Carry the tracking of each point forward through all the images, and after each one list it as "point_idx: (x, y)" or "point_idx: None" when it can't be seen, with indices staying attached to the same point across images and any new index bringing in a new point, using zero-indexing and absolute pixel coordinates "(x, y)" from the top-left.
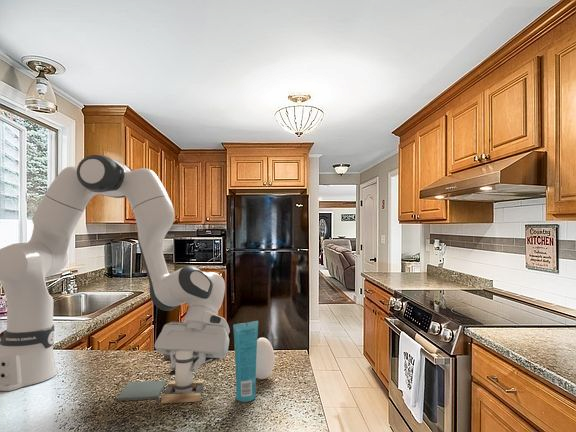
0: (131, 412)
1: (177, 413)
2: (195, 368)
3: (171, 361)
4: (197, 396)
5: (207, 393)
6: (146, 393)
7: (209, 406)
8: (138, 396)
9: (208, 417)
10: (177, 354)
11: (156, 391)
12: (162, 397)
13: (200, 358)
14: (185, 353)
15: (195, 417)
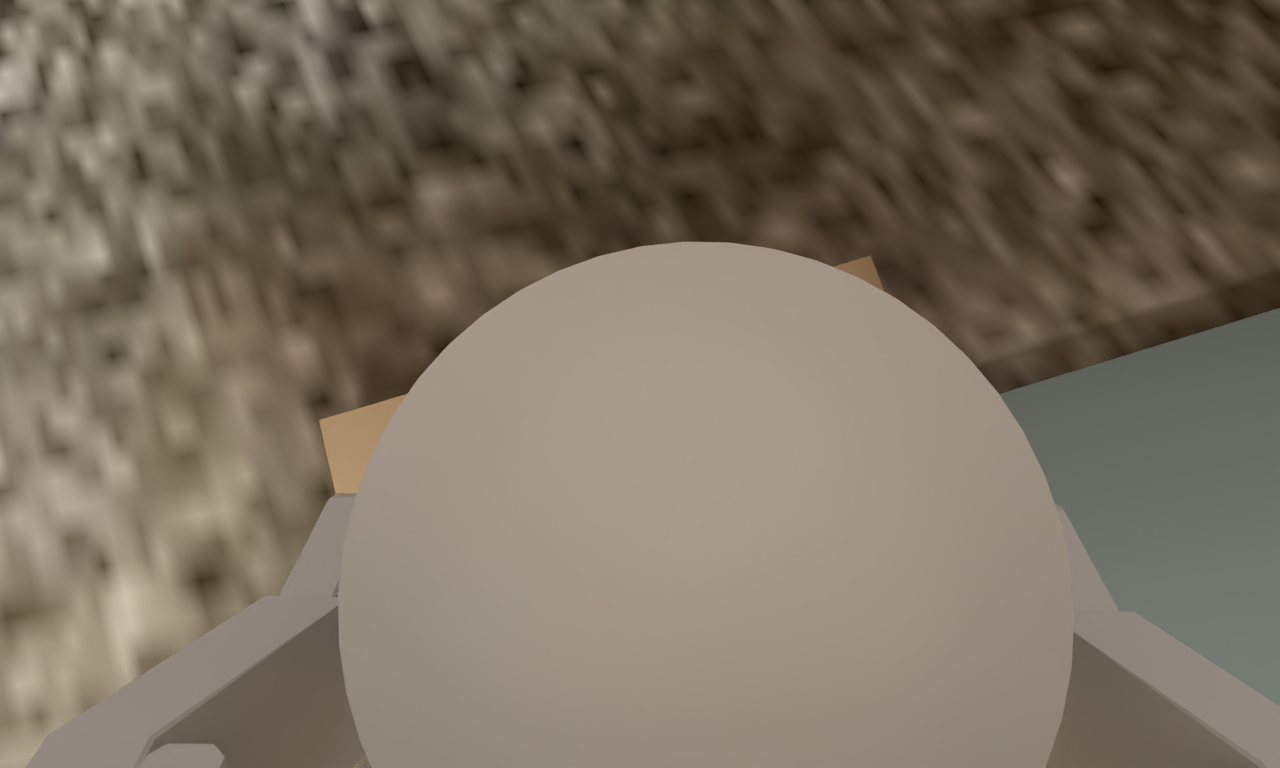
0: (1077, 18)
1: (516, 98)
2: (331, 506)
3: (1106, 591)
4: (362, 414)
5: None
6: (1228, 452)
7: (177, 331)
8: (1273, 335)
9: (118, 84)
10: (844, 278)
11: (1120, 547)
12: (854, 263)
13: (145, 685)
14: (552, 362)
15: (269, 57)
